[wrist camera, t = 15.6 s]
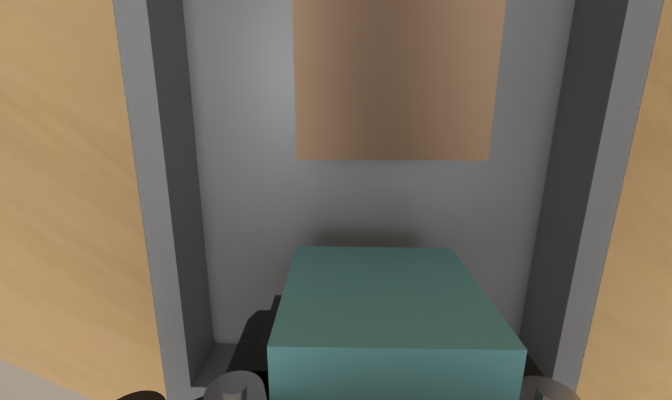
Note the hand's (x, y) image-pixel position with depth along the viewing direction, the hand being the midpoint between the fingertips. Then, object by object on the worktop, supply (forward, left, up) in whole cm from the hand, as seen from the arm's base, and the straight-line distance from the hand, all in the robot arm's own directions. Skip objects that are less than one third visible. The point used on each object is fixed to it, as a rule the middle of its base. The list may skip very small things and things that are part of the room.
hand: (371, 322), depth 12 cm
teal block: (0, 0, 0) cm, 0 cm away
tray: (0, -4, -5) cm, 6 cm away
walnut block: (0, -8, -4) cm, 9 cm away
